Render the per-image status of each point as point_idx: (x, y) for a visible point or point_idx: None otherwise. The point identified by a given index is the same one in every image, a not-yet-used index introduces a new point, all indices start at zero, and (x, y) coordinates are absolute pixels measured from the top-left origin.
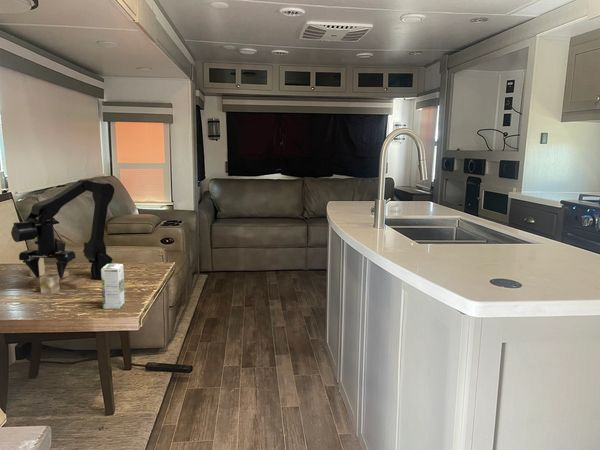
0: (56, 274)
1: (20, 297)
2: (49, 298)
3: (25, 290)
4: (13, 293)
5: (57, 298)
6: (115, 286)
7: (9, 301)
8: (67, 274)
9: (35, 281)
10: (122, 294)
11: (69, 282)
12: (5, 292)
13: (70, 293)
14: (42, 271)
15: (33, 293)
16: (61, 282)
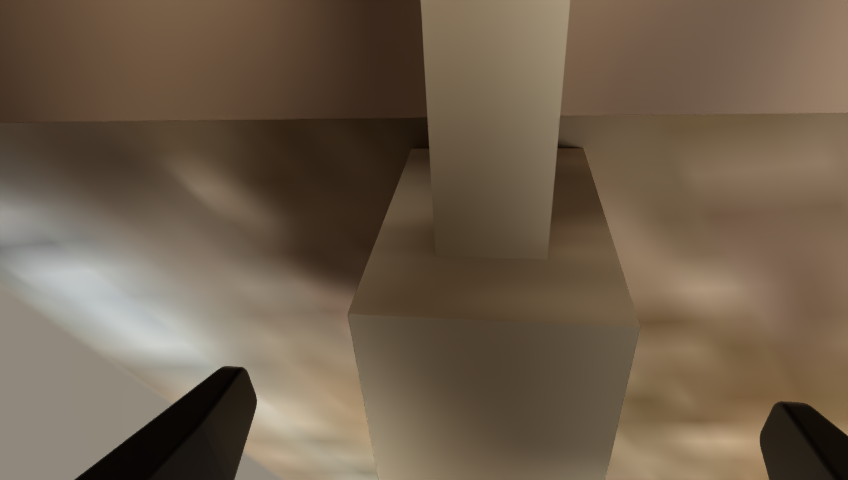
0: (591, 334)
1: (310, 408)
2: (626, 424)
3: (155, 236)
4: (137, 326)
5: (721, 424)
6: None
7: (306, 474)
8: None
9: (57, 98)
10: None
11: (778, 46)
12: (33, 307)
13: (841, 286)
14: None
15: (338, 314)
16: (585, 78)
